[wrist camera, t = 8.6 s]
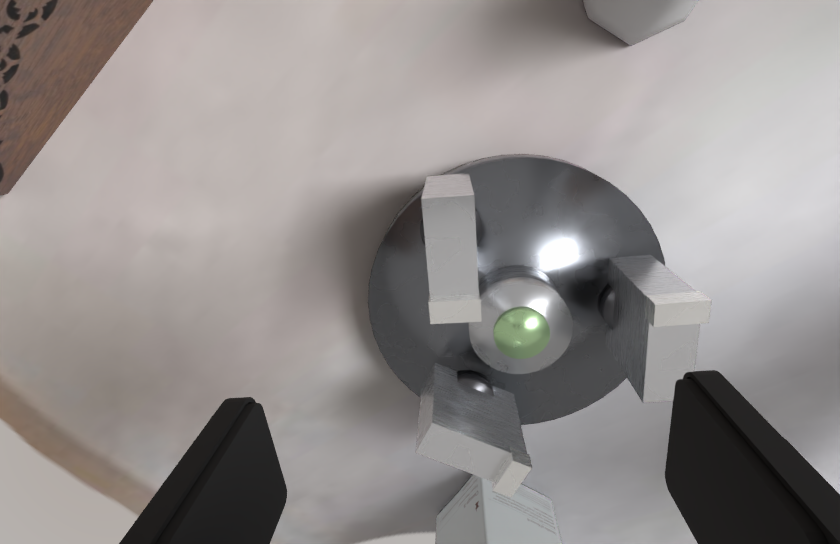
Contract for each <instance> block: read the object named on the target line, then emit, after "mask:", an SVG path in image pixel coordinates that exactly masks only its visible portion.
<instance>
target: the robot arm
mask: <svg viewBox="0 0 840 544" xmlns="http://www.w3.org/2000/svg"><path fill="white" fill-rule="evenodd" d="M665 479H666V484H667V487H668V490H669V492H670V494H671V496H672V498H673V499H674V501H675V503H676V505H677V507H678V508H679V510H680V512H681V514H682V516H683V517H684V519H685V521H686V523H687V525H688V527H689V528H690V530H691V532H692V534H693V536H694V537H695V539H696V541H697V543H698V544H840V494H839V493H838V492H837V491H836V490H835V489H834V488H833V487H832V486H831V485H830V484H829V483H828V482H827V481H826V480H825V479H824V478H823V477H822V476H821V475H820V474H819V473H818V472H817V471H816V470H815V469H814V468H813V467H812V466H811V465H810V464H809V463H808V462H807V461H806V460H805V459H804V458H803V456H802V455H801V454H800V453H799V452H798V451H797V450H796V449H795V448H794V447H793V446H792V445H791V444H790V443H789V442H788V441H787V440H785V439H784V438H783V437H782V436H781V435H780V434H779V433H778V432H777V431H776V430H775V429H774V428H773V427H772V426H771V425H770V424H769V423H768V422H767V421H766V420H765V419H764V418H763V417H762V416H761V415H760V414H759V412H758V411H757V410H756V409H755V408H754V407H753V406H752V405H751V404H750V403H749V402H748V401H747V400H746V399H745V398H744V397H743V396H742V395H741V394H740V393H739V392H738V391H737V390H736V389H735V388H734V387H733V386H732V385H731V384H730V383H729V382H728V381H727V380H726V378H725V377H724V376H723V375H722V374H720V373H719V372H718V371H714V370H713V371H695V372H687V373H685V374H684V376H683V379H679V380H677V381H676V384H675V391H674V399H673V408H672V417H671V426H670V434H669V443H668V452H667V461H666V470H665ZM286 498H287V488H286V484H285V481H284V478H283V474H282V471H281V467H280V464H279V461H278V457H277V454H276V451H275V447H274V444H273V440H272V437H271V434H270V430H269V427H268V424H267V420H266V417H265V413H264V410H263V407H262V405H261V404H260V403H256V402H255V400H254V399H253V398H251V397H246V398H229V399H226V400H225V401H224V402H223V403H222V404H221V406H220V407H219V408H218V410H217V411H216V412H215V414H214V415H213V416H212V418H211V419H210V421H209V422H208V423H207V425H206V426H205V427H204V429H203V430H202V431H201V433H200V434H199V436H198V437H197V438H196V440H195V441H194V442H193V444H192V445H191V446H190V448H189V449H188V451H187V452H186V453H185V455H184V456H183V457H182V459H181V460H180V461H179V463H178V464H177V466H176V467H175V468H174V470H173V471H172V472H171V474H170V475H169V476H168V478H167V479H166V481H165V482H164V483H163V485H162V486H161V487H160V489H159V490H158V491H157V493H156V494H155V496H154V497H153V498H152V500H151V501H150V502H149V504H148V505H147V506H146V508H145V509H144V511H143V512H142V513H141V515H140V516H139V517H138V519H137V520H136V521H135V523H134V524H133V526H132V527H131V528H130V530H129V531H128V532H127V534H126V535H125V537H124V538H123V539H122V541H121V542H120V543H119V544H270V541H271V539H272V536H273V534H274V531H275V529H276V526H277V524H278V521H279V519H280V516H281V514H282V511H283V509H284V506H285V503H286Z"/></svg>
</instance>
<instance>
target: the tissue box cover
mask: <svg viewBox="0 0 840 544" xmlns="http://www.w3.org/2000/svg"><path fill="white" fill-rule="evenodd" d="M152 2H153V0H0V195H3V194H8V193H9V192H10V190H11V189H12V188H13V186H14V185H15V184H16V182H17V181H18V180H19V178H20V177H21V176H22V174H23V173H24V172H25V170H26V169H27V168H28V166H29V165H30V164H31V162H32V161H33V160H34V158H35V157H36V156H37V154H38V153H39V152H40V150H41V149H42V148H43V146H44V145H45V144H46V142H47V141H48V140H49V138H50V137H51V136H52V134H53V133H54V132H55V130H56V129H57V128H58V126H59V125H60V124H61V122H62V121H63V120H64V118H65V117H66V116H67V114H68V113H69V112H70V111H71V109H72V108H73V107H74V105H75V104H76V103H77V101H78V100H79V99H80V97H81V96H82V95H83V93H84V92H85V91H86V89H87V88H88V87H89V85H90V84H91V83H92V81H93V80H94V79H95V77H96V76H97V75H98V73H99V72H100V71H101V69H102V68H103V67H104V65H105V64H106V63H107V61H108V60H109V59H110V57H111V56H112V55H113V53H114V52H115V51H116V49H117V48H118V47H119V45H120V44H121V43H122V41H123V40H124V39H125V37H126V36H127V35H128V33H129V32H130V31H131V29H132V28H133V27H134V25H135V24H136V23H137V21H138V20H139V19H140V18H141V16H142V15H143V14H144V12H145V11H146V10H147V8H148V7H149V6H150V4H151V3H152Z"/></svg>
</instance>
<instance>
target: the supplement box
mask: <svg viewBox="0 0 840 544" xmlns="http://www.w3.org/2000/svg"><path fill="white" fill-rule="evenodd" d="M435 544H562V540H561V536H560V532H559V528H558V524H557V520H556V516H555V512H554V508H553V504H552V500H551V499H549V498H548V497H546V496H544V495H542V494H540V493H538V492H536V491H534V490H532V489H530V488H528V487H526V486H524V485H522V484H521V485H520V486H519V487H518V489H517V490H516V492H515V493H514V494H513V496H512V497H509V496H506V495H503V494H500V493H498V492H495V491H493V489H492V481H489V480H487V479H484V478H481V477H478V476H476V475H472V476H471V478H470V479H469V480H468V481H467V483H466V484H465V485H464V486H463V487H462V489H461V490H460V491H459V492H458V493H457V494H456V495H455V497H454V498H453V499H452V500H451V501H450V502H449V503H448V504H447V506H446V507H445V508H444V509H443V510H442V511H441V512H440V513H439V514H438V515H437V517H436V543H435Z"/></svg>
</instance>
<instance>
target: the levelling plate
mask: <svg viewBox="0 0 840 544" xmlns="http://www.w3.org/2000/svg"><path fill="white" fill-rule="evenodd" d="M462 173H469V177H470V180H471V184H472V188H473V192H474V197H475V207H476V209H477V210H478V212H479V215H480V218H481V222H482V228H483V230H482V237H481V240H480V242H479V244H478V246H477V265H478V288H479V292H480V298H481V319H482V322H464V323H445V324H430V314H429V303H428V302H429V294H430V292H429V281H428V270H427V258H426V247H425V246H424V244H423V242H422V239H421V236H420V224H421V219H422V216H423V213H422V202H421V198H422V194H423V190H424V188H423V189H421V190H420V191H419V192H418V193H417V194H415V195H414V196H413V197H412V198H411V199H410V200H409V202H408V203H407V204H406V205H405V206H404V207H403V208H402V209H401V210H400V212H399V213H398V215H397V216H396V218H395V219H394V221H393V222H392V223H391V225H390V227H389V229H388V231H387V233H386V235H385V237H384V239H383V241H382V243H381V245H380V247H379V250H378V252H377V255H376V258H375V261H374V264H373V267H372V272H371V277H370V283H369V297H368V305H369V314H370V321H371V325H372V329H373V333H374V337H375V339H376V341H377V344H378V346H379V349H380V351H381V353H382V355H383V356H384V358H385V360H386V361H387V363H388V365H389V366H390V367H391V369H392V370H393V371H394V373H395V374H396V375H397V377H398V378H399V379H400V380H401V381H402V382H403V383H404V384H405V385H406V386H407V387H408V388H409V389H410V390H412V391H413V392H414V393H415V394H417V395H418V396H419V397H421V389H422V387H423V385H424V383H425V381H426V379H427V377H428V375H429V373H430V371H431V370H432V368H433V366H434V364H435V363H437V364H439V365H442V366H444V367H447V368H449V369H452V370H454V371H461V370H474V371H477V372H480V373H482V374H483V375H485V376H486V377H487V378H488V379H489V380H490V382H491V384H492V386H495V387H497V388H500V389H502V390H505V391H507V392H510V393H512V394H514V397H515V402H516V406H517V411H518V415H519V420H520V424H521V425H525V424H534V423H540V422H545V421H549V420H554V419H557V418H560V417H563V416H566V415H569V414H572V413H574V412H576V411H579V410H581V409H583V408H585V407H587V406H589V405H591V404H593V403H594V402H596V401H598V400H599V399H601V398H603V397H604V396H605V395H607V394H608V393H609V392H611V391H612V390H613V389H615V388H616V387H617V386H618V385H619V384H620V383H622V382H623V381H624V380H625V379H626V378H627V377H626V375H625V373H624V372H623V370H622V369H621V367H620V366H619V364H618V362H617V361H616V359H615V358H614V356H613V354H612V353H611V351H610V350H609V348H608V347H607V345H606V325H607V324H606V322H605V321H604V319H603V318H602V316H601V315H600V313H599V310H598V304H597V303H598V297H599V295H600V293H601V291H602V289H603V288H604V287H605V286H606V285H607V284H608V270H609V258H616V257H627V256H638V255H649V254H650V255H652V256H653V257H654V258H655V259H657V260H658V261H659V262H660V263H662V264H663V265H664V266H665V261H664V257H663V254H662V251H661V247H660V244H659V241H658V239H657V237H656V235H655V233H654V231H653V229H652V227H651V225H650V223H649V222H648V221H647V219H646V218H645V216H644V215H643V213H642V212H641V211H640V209H639V208H638V207H637V206H636V205H635V204H634V203H633V202H632V201H631V200H630V199H629V198H628V197H627V196H626V195H625V194H624V193H623V192H621V191H620V190H619V189H617V188H616V187H615V186H613V185H612V184H611V183H610V182H608V181H606V180H604V179H602V178H600V177H599V176H597V175H595V174H593V173H591V172H590V171H588V170H586V169H584V168H582V167H580V166H577V165H575V164H572V163H569V162H567V161H564V160H560V159H556V158H551V157H547V156H541V155H529V154H511V155H499V156H494V157H488V158H483V159H479V160H476V161H473V162H470V163H467V164H464V165H461V166H459V167H457V168H455V169H453V170H451V171H449V172H446V173H444V174H443V175H450V174H462Z"/></svg>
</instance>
